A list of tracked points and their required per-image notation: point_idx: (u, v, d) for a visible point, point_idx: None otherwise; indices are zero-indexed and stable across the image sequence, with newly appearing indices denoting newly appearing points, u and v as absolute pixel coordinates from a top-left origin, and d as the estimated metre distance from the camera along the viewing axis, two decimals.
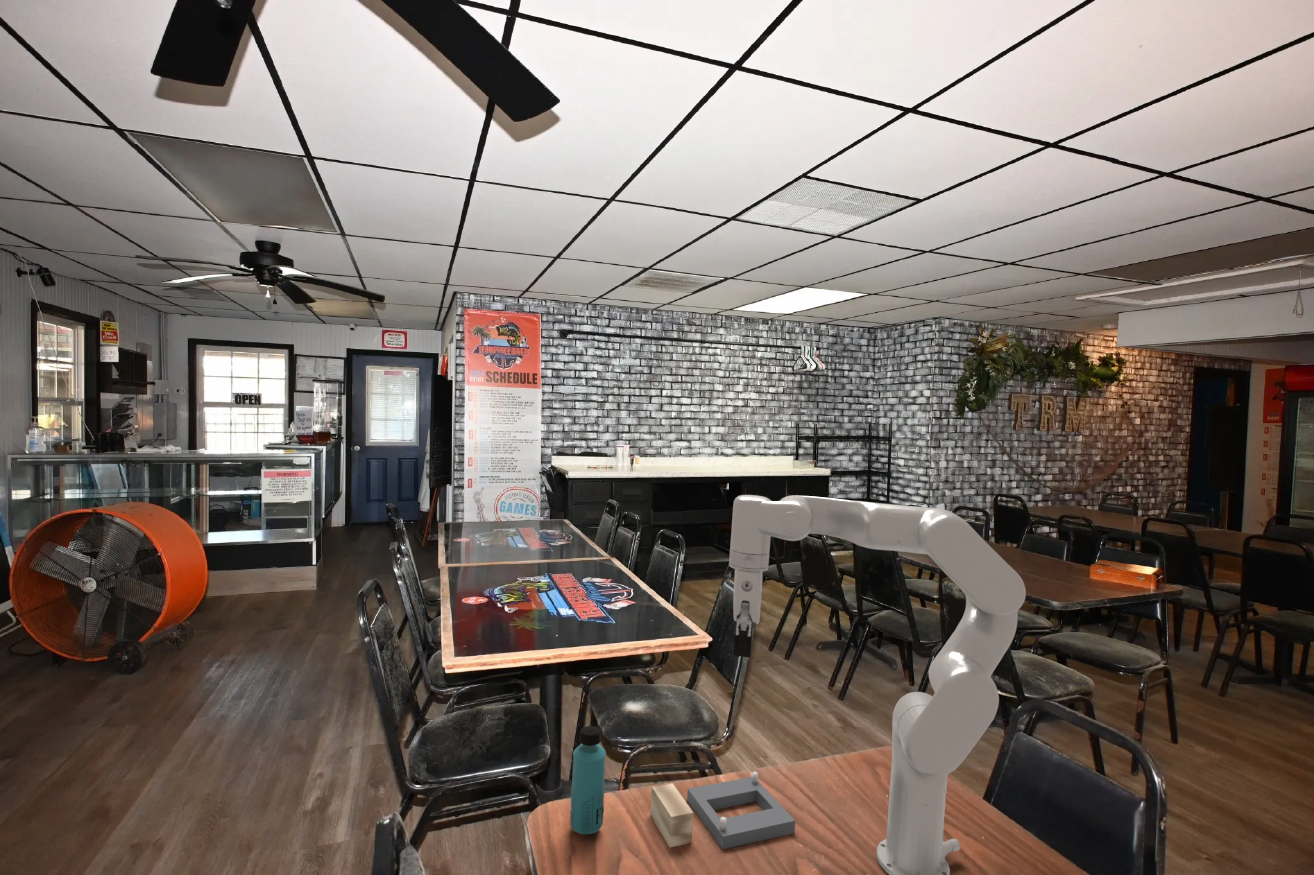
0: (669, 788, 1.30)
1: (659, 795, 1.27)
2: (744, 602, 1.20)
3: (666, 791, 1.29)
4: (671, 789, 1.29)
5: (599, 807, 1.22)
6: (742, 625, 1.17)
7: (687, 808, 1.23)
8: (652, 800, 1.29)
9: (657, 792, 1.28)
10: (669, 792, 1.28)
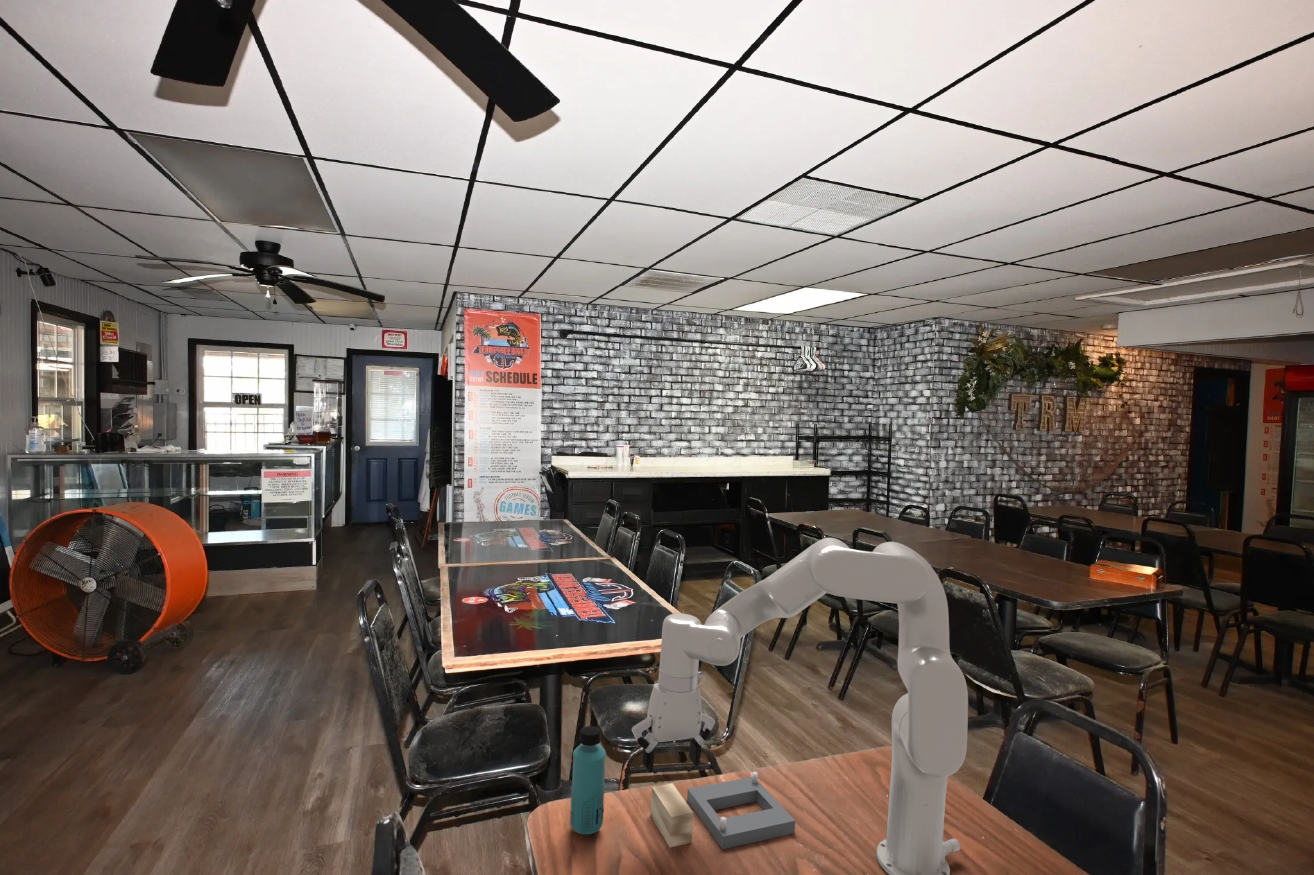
0: (669, 788, 1.30)
1: (659, 795, 1.27)
2: None
3: (666, 791, 1.29)
4: (671, 789, 1.29)
5: (599, 807, 1.22)
6: None
7: (687, 808, 1.23)
8: (652, 800, 1.29)
9: (657, 792, 1.28)
10: (669, 792, 1.28)
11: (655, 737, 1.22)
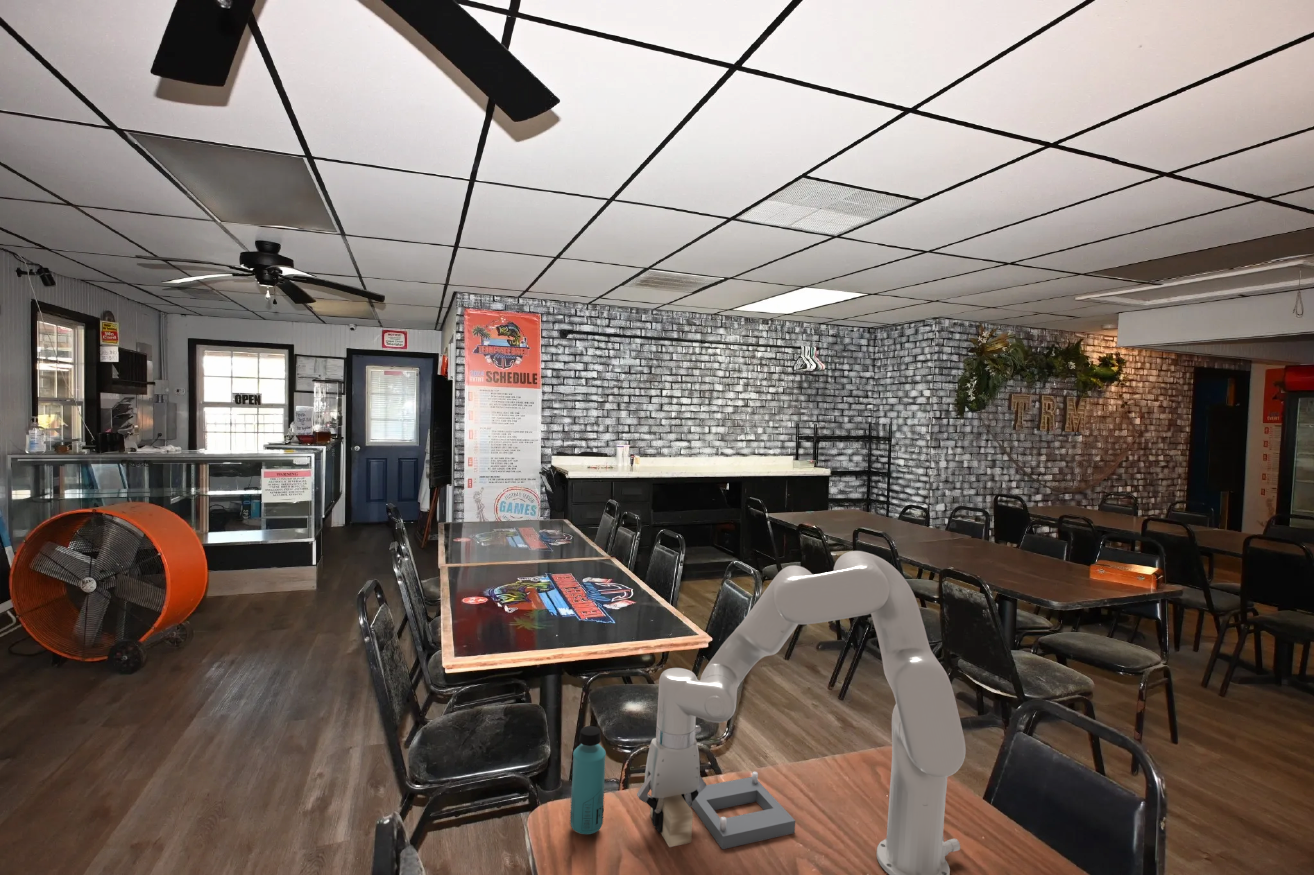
0: None
1: None
2: None
3: None
4: None
5: (599, 807, 1.22)
6: None
7: (687, 807, 1.23)
8: None
9: None
10: None
11: (653, 794, 1.22)
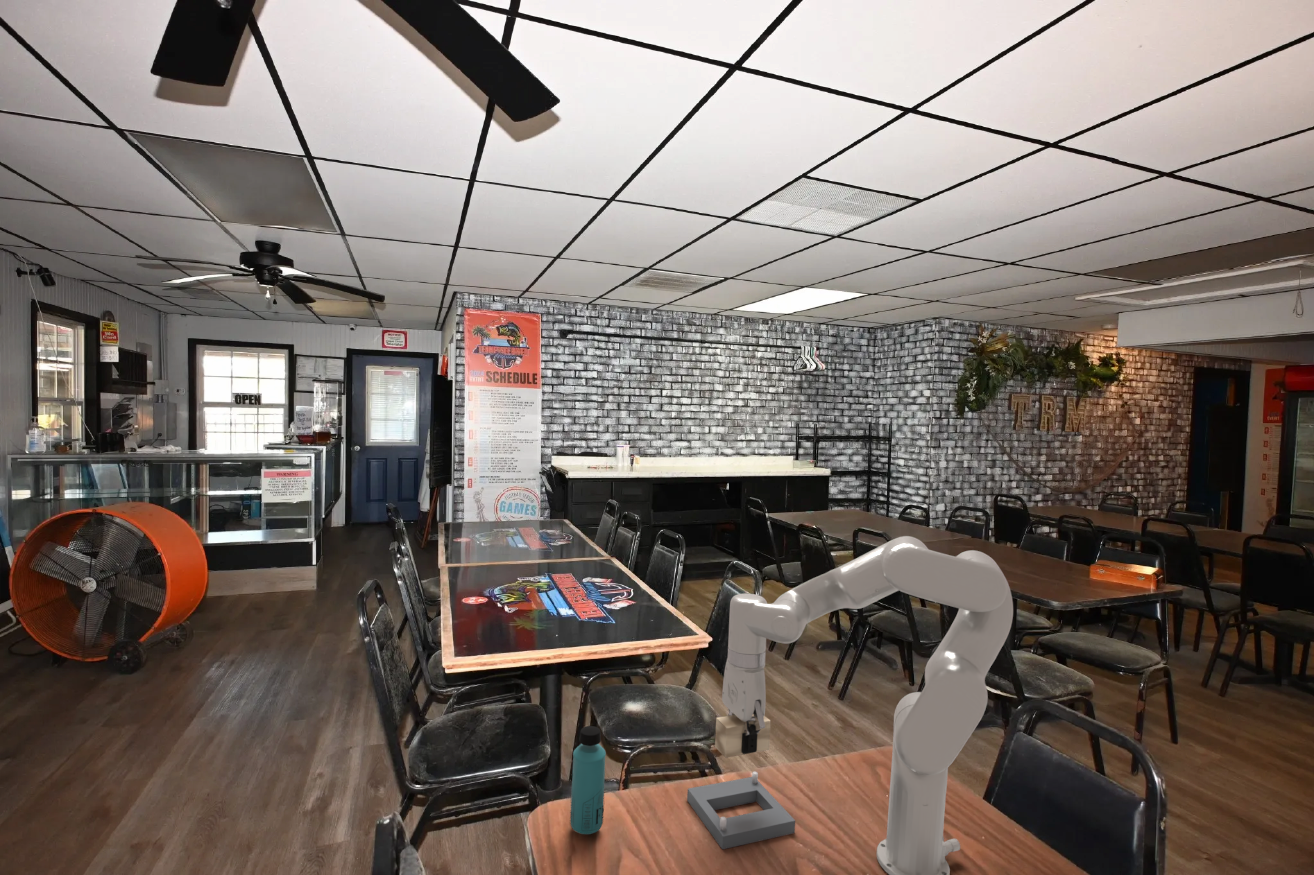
0: (725, 719, 1.30)
1: (739, 724, 1.28)
2: None
3: (730, 721, 1.29)
4: (727, 718, 1.30)
5: (599, 807, 1.22)
6: None
7: None
8: (729, 739, 1.27)
9: (735, 725, 1.27)
10: (732, 719, 1.30)
11: (764, 714, 1.27)
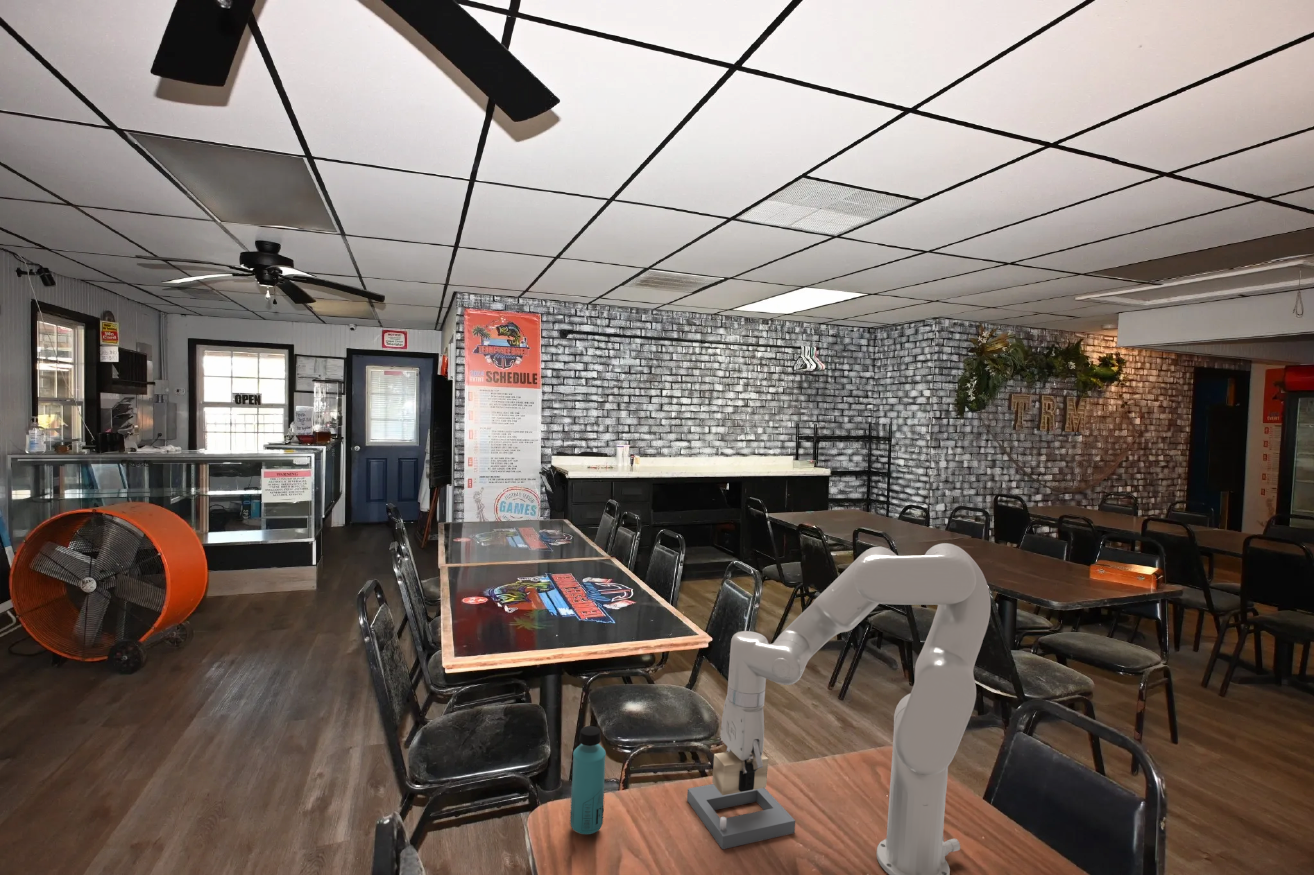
0: (723, 756, 1.30)
1: (737, 762, 1.28)
2: None
3: (728, 758, 1.30)
4: (724, 755, 1.31)
5: (599, 807, 1.22)
6: None
7: None
8: (726, 777, 1.27)
9: (732, 763, 1.28)
10: (729, 756, 1.30)
11: None
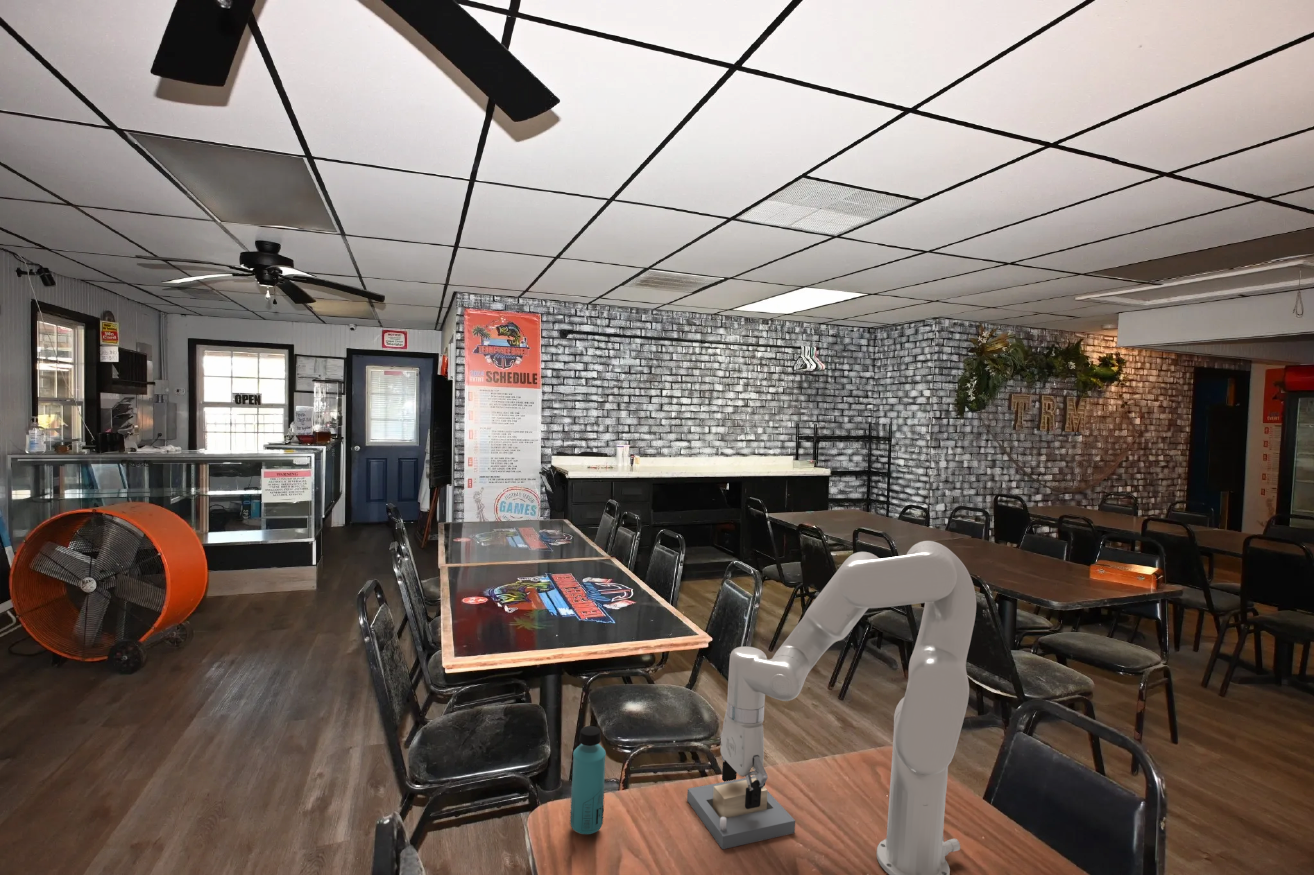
0: (723, 788, 1.31)
1: (737, 795, 1.29)
2: None
3: (728, 790, 1.30)
4: (724, 787, 1.31)
5: (599, 807, 1.22)
6: None
7: None
8: (726, 810, 1.27)
9: (732, 796, 1.28)
10: (729, 788, 1.31)
11: None
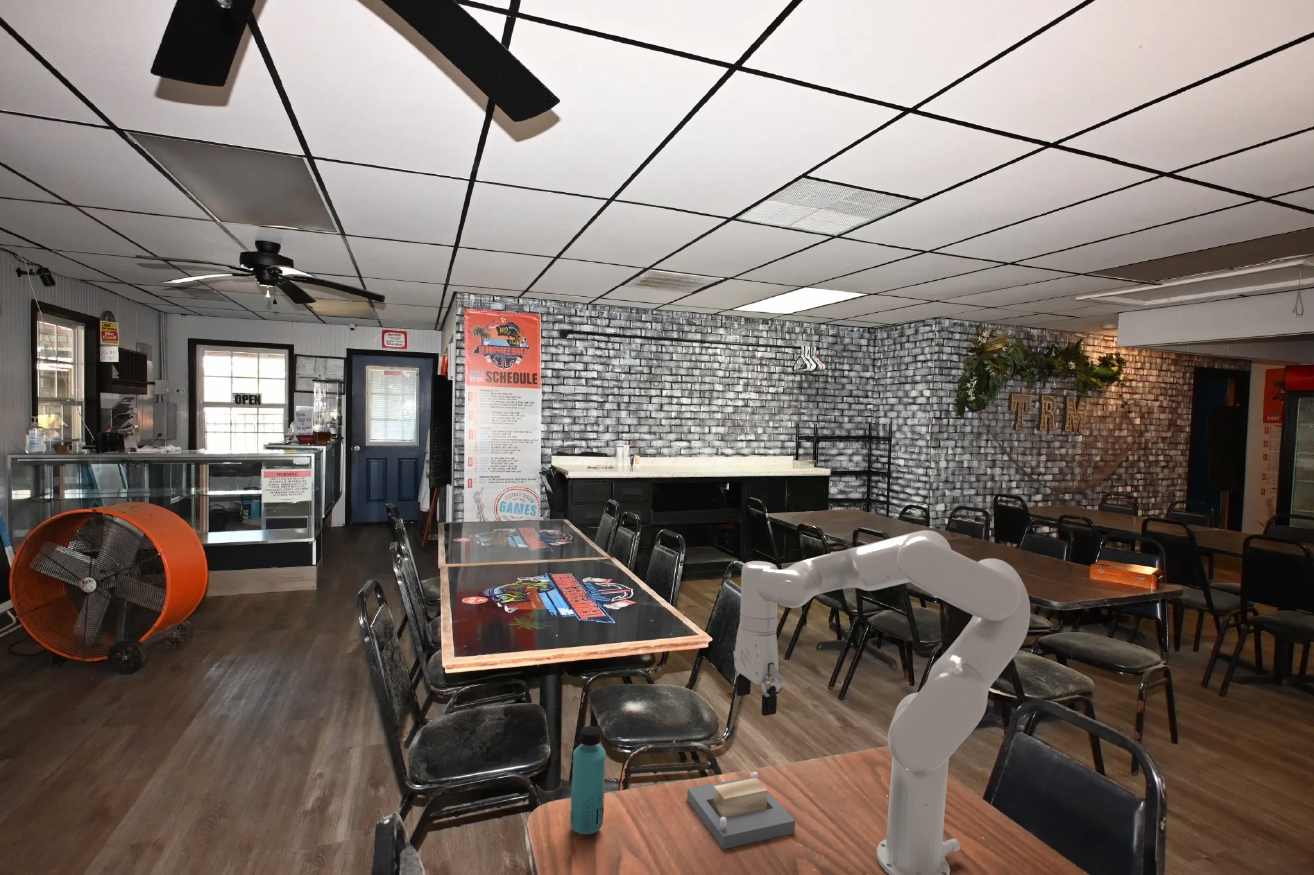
0: (722, 788, 1.31)
1: (737, 795, 1.29)
2: None
3: (728, 790, 1.30)
4: (724, 787, 1.31)
5: (599, 807, 1.22)
6: None
7: (751, 780, 1.34)
8: (726, 810, 1.27)
9: (732, 795, 1.28)
10: (729, 788, 1.31)
11: None
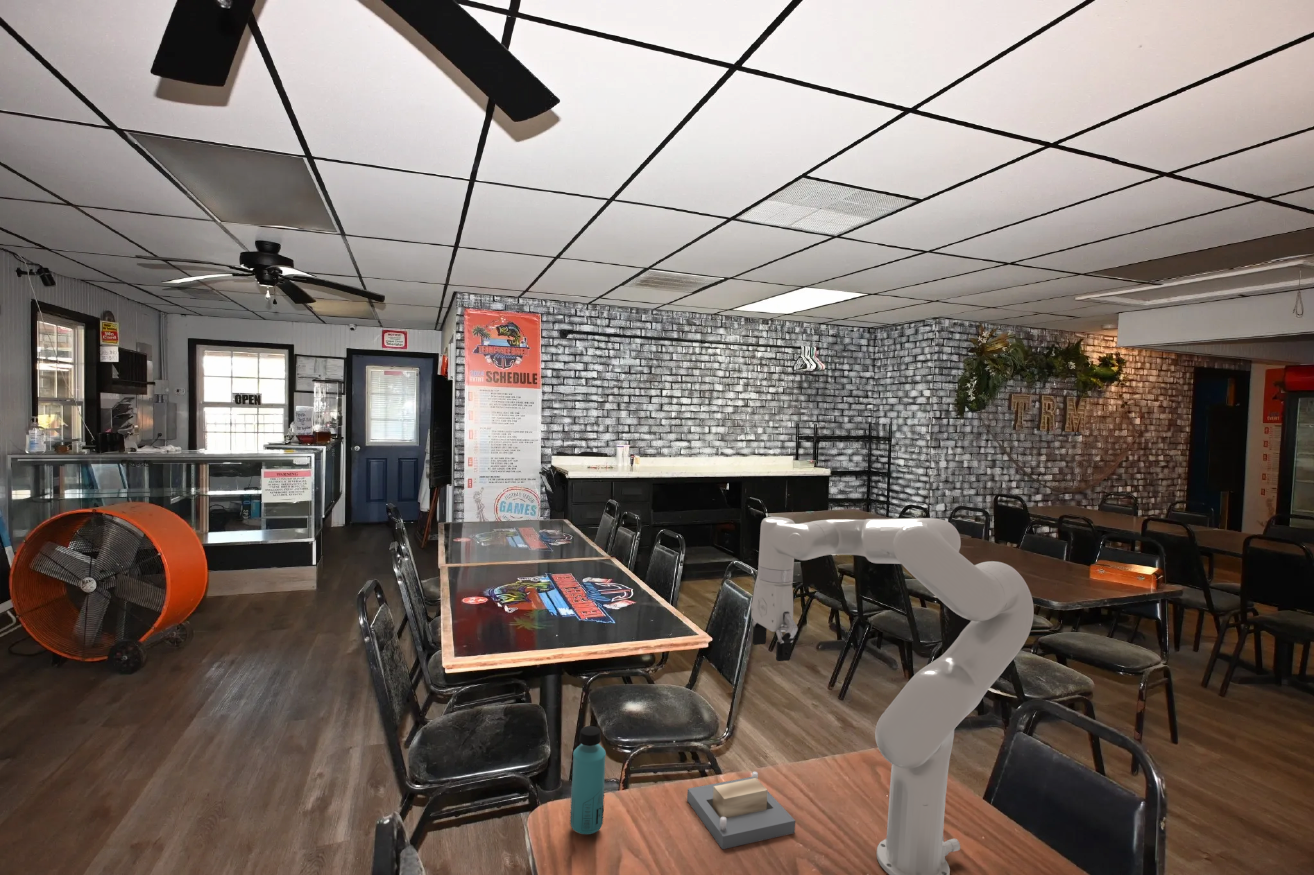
0: (722, 788, 1.31)
1: (737, 795, 1.29)
2: None
3: (728, 790, 1.30)
4: (724, 787, 1.31)
5: (599, 807, 1.22)
6: None
7: (751, 780, 1.34)
8: (726, 810, 1.27)
9: (732, 796, 1.28)
10: (729, 788, 1.31)
11: None
